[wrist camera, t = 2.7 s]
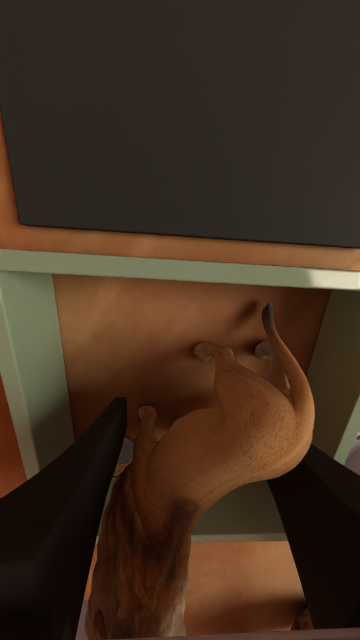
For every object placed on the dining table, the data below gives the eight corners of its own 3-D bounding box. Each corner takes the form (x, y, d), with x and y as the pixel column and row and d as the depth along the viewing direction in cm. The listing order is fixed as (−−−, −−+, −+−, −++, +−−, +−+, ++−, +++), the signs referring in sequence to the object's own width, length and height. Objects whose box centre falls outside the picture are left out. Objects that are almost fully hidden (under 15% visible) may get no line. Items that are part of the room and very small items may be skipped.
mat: (432, 22, 8) (448, 7, 8) (360, 248, 11) (369, 248, 10) (-17, -41, 7) (-30, -62, 7) (26, 225, 10) (19, 223, 9)
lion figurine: (170, 469, 15) (168, 735, 7) (110, 443, 14) (17, 719, 6) (296, 322, 12) (615, 481, 3) (229, 274, 11) (439, 327, 2)
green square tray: (349, 270, 11) (426, 275, 8) (283, 483, 16) (312, 540, 13) (34, 250, 10) (-33, 246, 7) (70, 483, 15) (42, 545, 12)
